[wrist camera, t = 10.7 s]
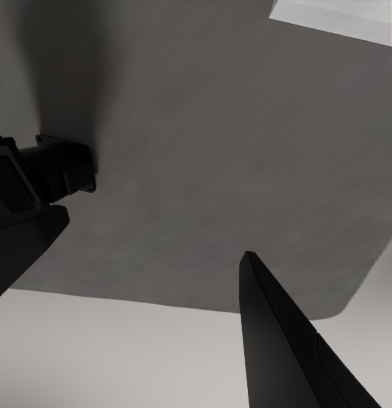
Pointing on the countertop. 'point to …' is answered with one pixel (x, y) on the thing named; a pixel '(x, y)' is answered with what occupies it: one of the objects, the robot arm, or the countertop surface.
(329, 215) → the countertop surface
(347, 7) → the square tray
